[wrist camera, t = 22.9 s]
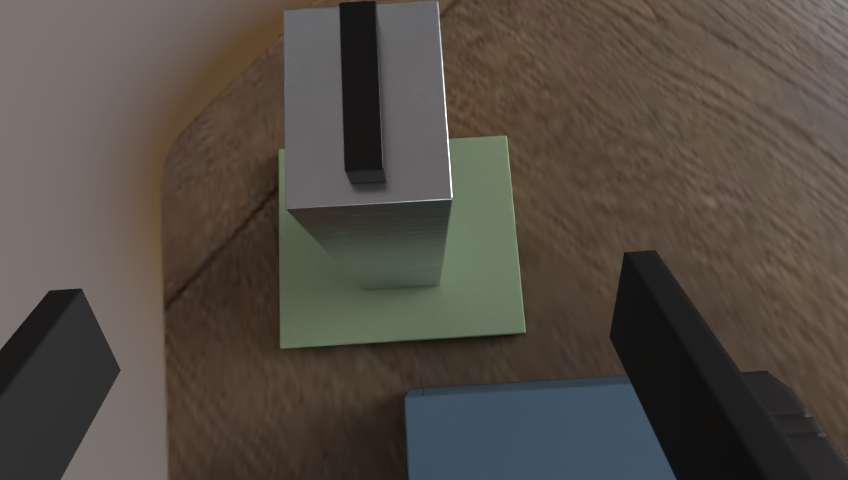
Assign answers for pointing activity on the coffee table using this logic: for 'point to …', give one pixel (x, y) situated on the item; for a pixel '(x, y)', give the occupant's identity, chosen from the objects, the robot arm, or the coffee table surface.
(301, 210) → the silver box
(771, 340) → the coffee table surface
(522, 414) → the cabinet
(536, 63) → the coffee table surface
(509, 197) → the mat
